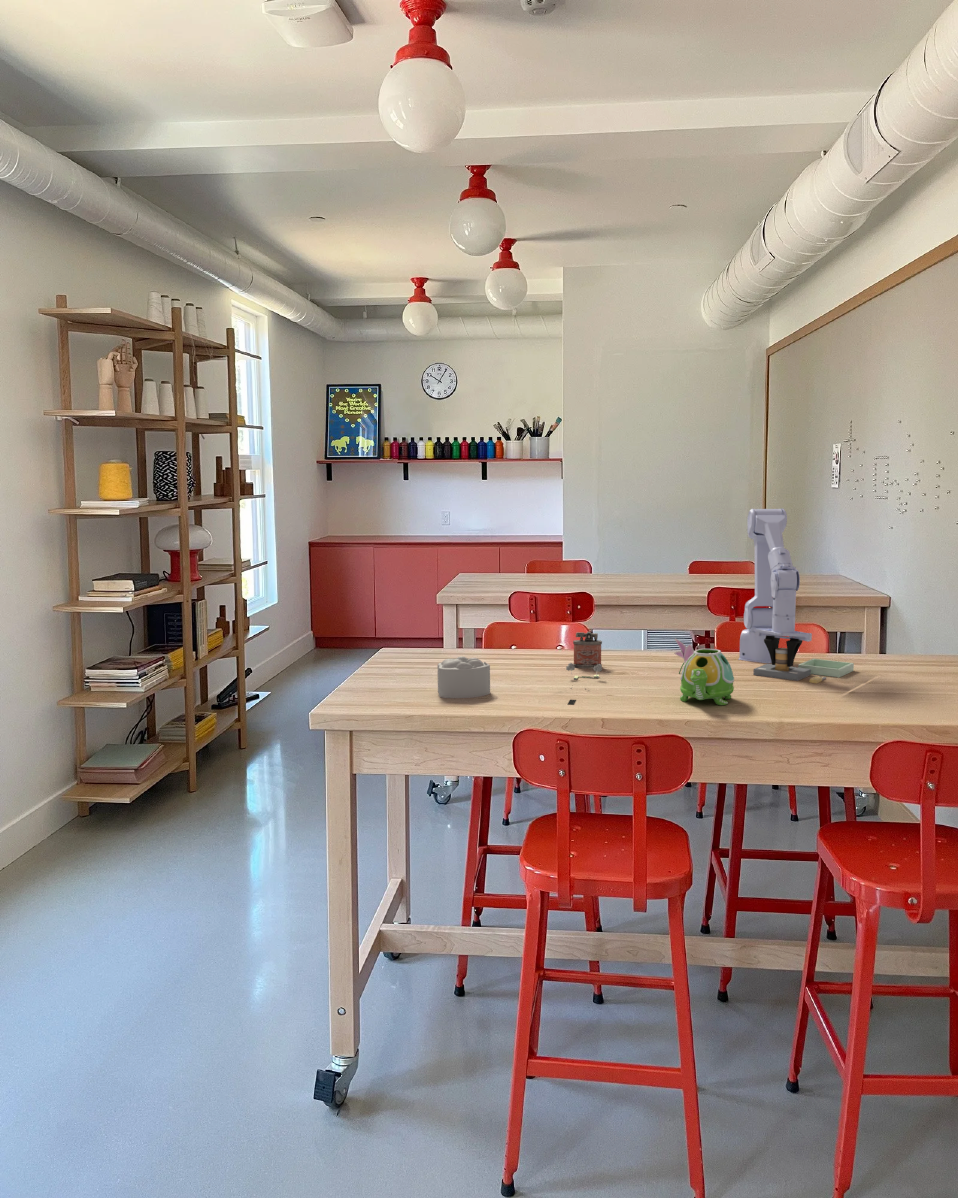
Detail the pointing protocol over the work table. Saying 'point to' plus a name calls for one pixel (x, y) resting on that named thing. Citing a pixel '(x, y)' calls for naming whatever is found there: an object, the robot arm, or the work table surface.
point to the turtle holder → (707, 677)
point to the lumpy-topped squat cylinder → (463, 678)
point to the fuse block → (782, 672)
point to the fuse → (781, 659)
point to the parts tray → (827, 667)
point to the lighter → (587, 650)
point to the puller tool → (817, 679)
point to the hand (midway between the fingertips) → (782, 665)
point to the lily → (684, 651)
